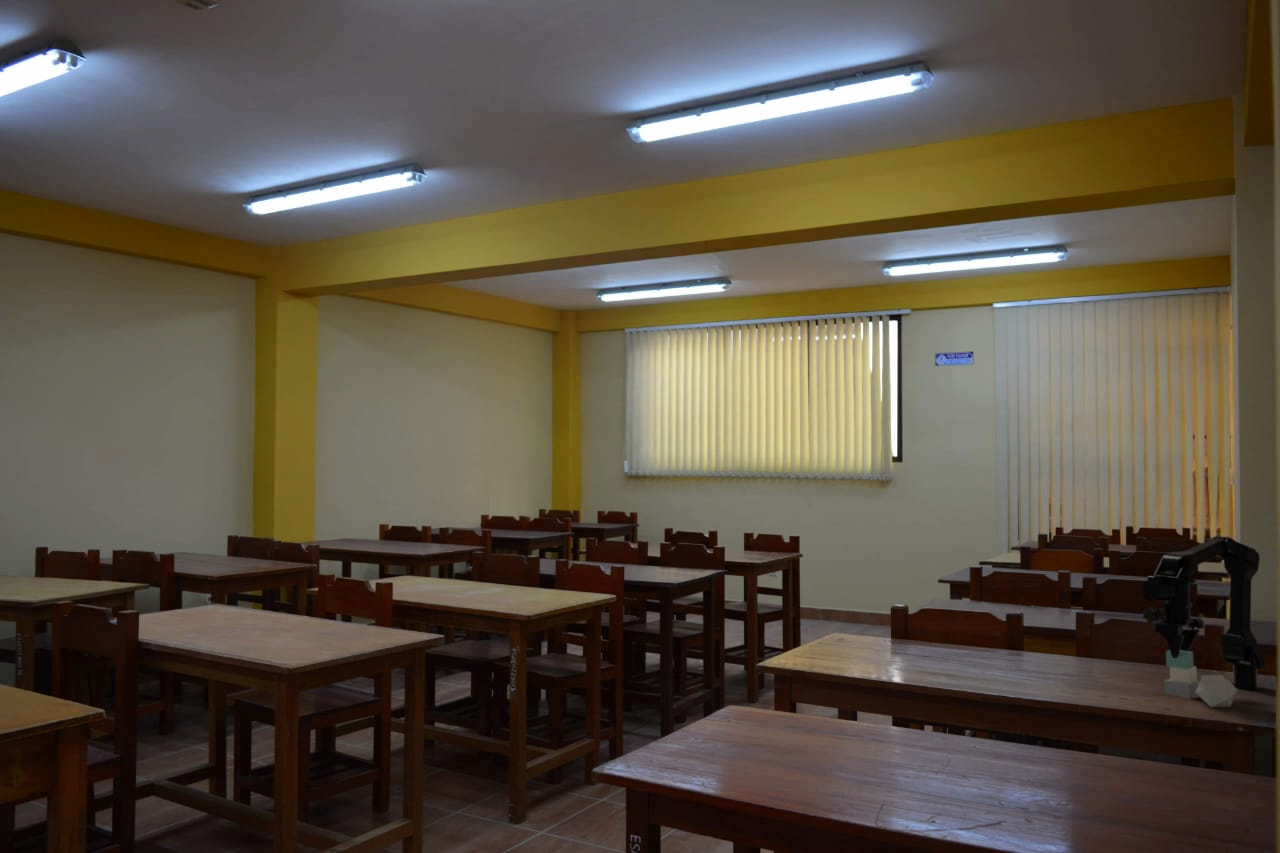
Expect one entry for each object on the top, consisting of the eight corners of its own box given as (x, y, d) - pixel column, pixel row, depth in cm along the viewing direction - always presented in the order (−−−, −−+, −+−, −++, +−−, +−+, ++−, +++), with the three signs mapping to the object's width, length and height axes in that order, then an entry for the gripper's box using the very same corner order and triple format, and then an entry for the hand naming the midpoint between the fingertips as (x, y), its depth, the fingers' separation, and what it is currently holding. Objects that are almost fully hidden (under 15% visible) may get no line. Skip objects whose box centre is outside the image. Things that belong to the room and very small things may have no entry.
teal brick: (1173, 663, 258) (1173, 649, 258) (1193, 666, 254) (1192, 652, 254) (1166, 666, 255) (1165, 651, 255) (1186, 669, 251) (1185, 654, 251)
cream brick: (1176, 678, 258) (1176, 663, 258) (1196, 681, 254) (1196, 666, 254) (1169, 680, 254) (1169, 666, 255) (1189, 684, 251) (1189, 669, 251)
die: (1236, 714, 236) (1247, 681, 239) (1203, 696, 237) (1214, 663, 241) (1217, 718, 243) (1228, 686, 247) (1185, 700, 245) (1197, 668, 248)
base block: (1180, 692, 259) (1179, 677, 259) (1205, 697, 252) (1204, 682, 253) (1164, 694, 255) (1164, 680, 256) (1189, 700, 249) (1189, 685, 249)
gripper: (1161, 593, 268) (1162, 648, 267) (1132, 599, 256) (1134, 656, 255) (1203, 598, 259) (1205, 654, 258) (1176, 603, 247) (1177, 662, 246)
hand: (1179, 656), depth 255 cm, fingers open, 6 cm apart
